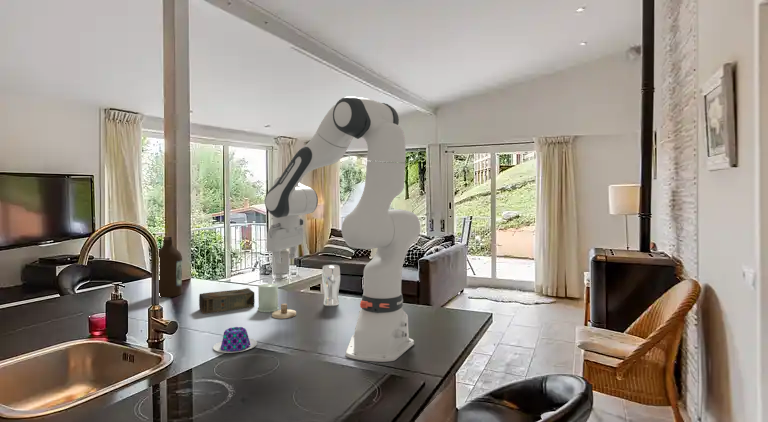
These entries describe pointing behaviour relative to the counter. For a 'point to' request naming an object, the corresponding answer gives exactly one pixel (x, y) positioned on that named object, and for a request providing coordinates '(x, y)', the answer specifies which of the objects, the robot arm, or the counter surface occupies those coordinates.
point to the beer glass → (331, 284)
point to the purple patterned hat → (235, 341)
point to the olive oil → (170, 270)
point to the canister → (268, 298)
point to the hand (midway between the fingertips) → (285, 260)
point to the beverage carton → (226, 300)
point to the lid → (283, 312)
